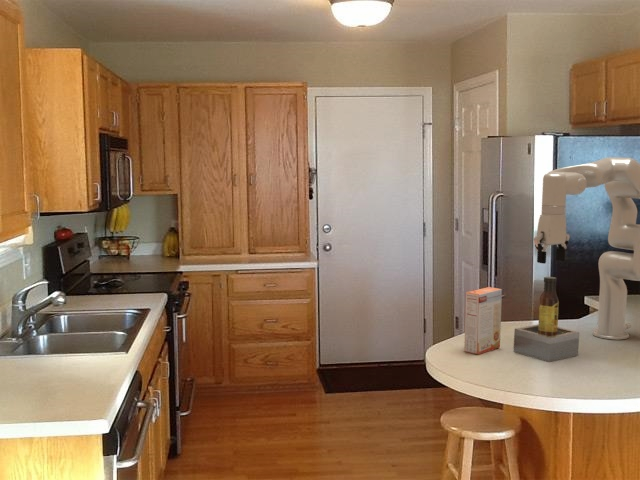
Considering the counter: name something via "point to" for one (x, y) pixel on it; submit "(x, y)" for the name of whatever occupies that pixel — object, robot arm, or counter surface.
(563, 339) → the grey square tray
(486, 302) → the cracker box
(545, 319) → the sauce bottle
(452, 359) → the counter surface
